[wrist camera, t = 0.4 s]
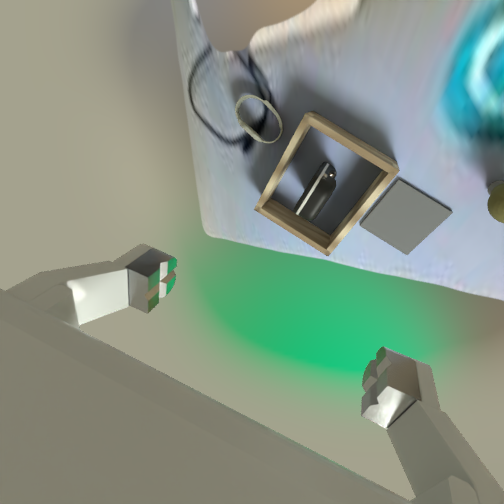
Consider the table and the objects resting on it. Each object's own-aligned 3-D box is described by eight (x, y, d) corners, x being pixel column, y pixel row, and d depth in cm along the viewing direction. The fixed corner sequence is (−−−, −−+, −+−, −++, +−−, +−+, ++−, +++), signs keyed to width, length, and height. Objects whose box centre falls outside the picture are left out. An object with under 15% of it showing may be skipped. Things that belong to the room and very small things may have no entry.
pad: (398, 178, 46) (398, 179, 46) (451, 211, 46) (452, 212, 45) (360, 224, 52) (359, 225, 52) (406, 253, 52) (406, 255, 51)
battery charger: (321, 203, 53) (310, 228, 44) (304, 192, 53) (289, 215, 44) (343, 171, 49) (336, 190, 40) (324, 159, 49) (313, 176, 40)
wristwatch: (234, 114, 51) (222, 117, 47) (255, 83, 47) (244, 82, 43) (270, 150, 52) (262, 156, 48) (294, 122, 48) (286, 125, 44)
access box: (312, 110, 46) (305, 113, 41) (396, 161, 45) (399, 170, 41) (264, 199, 57) (254, 209, 52) (332, 241, 56) (328, 256, 51)
